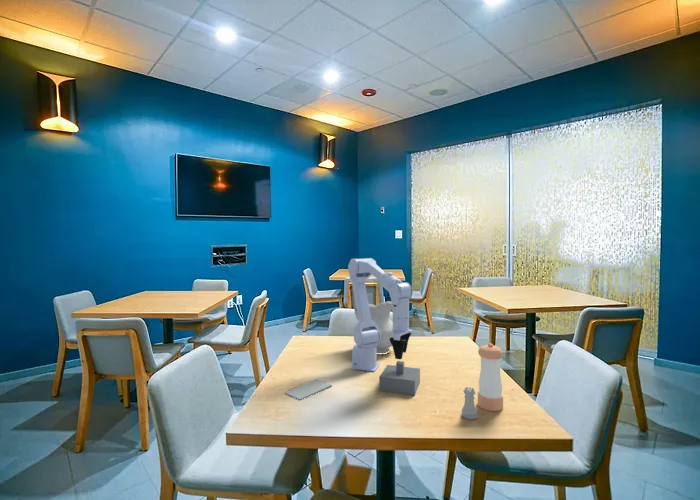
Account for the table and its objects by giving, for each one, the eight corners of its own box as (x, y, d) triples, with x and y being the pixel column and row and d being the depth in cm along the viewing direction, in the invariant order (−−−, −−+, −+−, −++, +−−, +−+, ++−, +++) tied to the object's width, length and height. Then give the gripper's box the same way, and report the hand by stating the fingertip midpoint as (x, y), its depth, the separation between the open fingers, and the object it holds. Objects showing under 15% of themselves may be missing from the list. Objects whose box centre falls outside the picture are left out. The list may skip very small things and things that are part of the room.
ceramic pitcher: (347, 356, 159) (345, 302, 156) (358, 341, 177) (357, 293, 175) (394, 361, 152) (394, 305, 150) (401, 345, 171) (401, 295, 168)
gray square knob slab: (379, 390, 119) (379, 366, 119) (387, 377, 130) (387, 355, 130) (414, 395, 115) (414, 370, 115) (420, 381, 126) (419, 358, 126)
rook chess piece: (458, 413, 103) (458, 385, 103) (473, 412, 104) (473, 385, 103) (465, 420, 99) (465, 392, 99) (480, 419, 99) (480, 391, 99)
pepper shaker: (491, 413, 103) (491, 348, 102) (472, 403, 109) (472, 342, 109) (508, 408, 106) (508, 344, 106) (488, 398, 113) (489, 339, 112)
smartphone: (283, 392, 117) (316, 378, 128) (283, 395, 117) (316, 381, 128) (299, 399, 112) (332, 384, 123) (299, 402, 112) (332, 387, 123)
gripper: (408, 322, 116) (408, 363, 116) (415, 313, 129) (415, 350, 129) (387, 320, 118) (387, 360, 118) (396, 312, 132) (396, 348, 132)
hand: (400, 355), depth 124 cm, fingers open, 7 cm apart
